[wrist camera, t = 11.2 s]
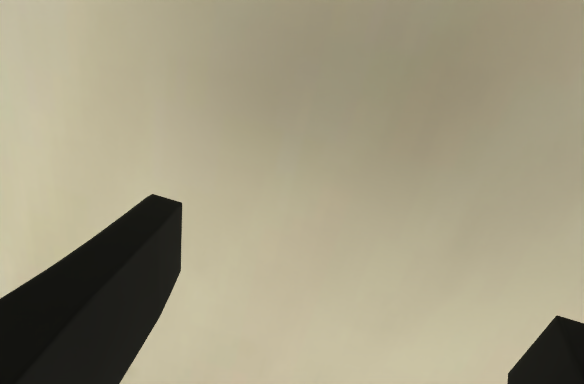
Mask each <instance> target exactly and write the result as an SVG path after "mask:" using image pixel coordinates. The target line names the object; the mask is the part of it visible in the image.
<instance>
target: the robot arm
mask: <svg viewBox="0 0 584 384" xmlns="http://www.w3.org/2000/svg"><path fill="white" fill-rule="evenodd" d="M181 231H182V203H181V202H177V201H174V200H171V199H167V198H164V197H161V196H157V195H154V194H152V195H150V196H148V197H146V198H145V199H144V200H143V201H141V202H140V203H139V204H137V205H136V206H135V207H133V208H132V209H131V210H129V211H128V212H127V213H125V214H124V215H123V216H122V217H120V218H119V219H118V220H116V221H115V222H114V223H112V224H111V225H109V226H108V227H107V228H105V229H104V230H103V231H101V232H100V233H99V234H97V235H96V236H94V237H93V238H92V239H90V240H89V241H87V242H86V243H85V244H83V245H82V246H80V247H79V248H77V249H76V250H75V251H73V252H72V253H70V254H69V255H67V256H66V257H64V258H63V259H62V260H60V261H59V262H57V263H56V264H54V265H53V266H51V267H50V268H48V269H47V270H45V271H44V272H42V273H40V274H39V275H37V276H36V277H34V278H33V279H31V280H29V281H28V282H26V283H25V284H23V285H21V286H20V287H18V288H17V289H15V290H14V291H12V292H10V293H9V294H7V295H6V296H4V297H2V298H1V299H0V384H119V383H120V382H121V380H122V378H123V377H124V375H125V373H126V372H127V370H128V368H129V367H130V365H131V364H132V362H133V360H134V359H135V357H136V355H137V354H138V352H139V350H140V349H141V347H142V345H143V344H144V342H145V340H146V339H147V337H148V335H149V334H150V332H151V330H152V329H153V327H154V325H155V324H156V322H157V320H158V319H159V317H160V315H161V313H162V311H163V309H164V307H165V304H166V302H167V300H168V298H169V296H170V294H171V291H172V289H173V287H174V285H175V282H176V280H177V278H178V276H179V273H180V271H181ZM508 384H584V323H580V322H577V321H574V320H570V319H567V318H564V317H560V316H556V317H555V318H554V319H553V320H552V322H551V323H550V324H549V325H548V326H547V328H546V329H545V330H544V331H543V332H542V334H541V335H540V336H539V337H538V338H537V340H536V341H535V342H534V343H533V344H532V346H531V347H530V348H529V349H528V350H527V352H526V353H525V354H524V355H523V356H522V358H521V359H520V360H519V361H518V362H517V364H516V365H515V366H514V367H513V368H512V370H511V371H510V372H509V373H508Z"/></svg>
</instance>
